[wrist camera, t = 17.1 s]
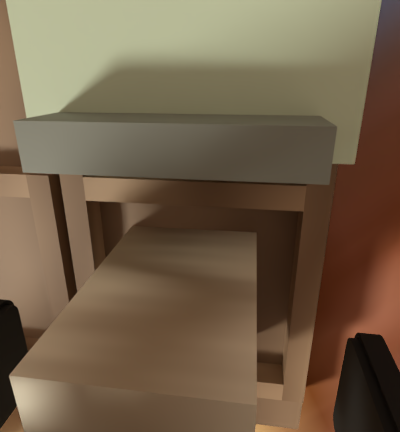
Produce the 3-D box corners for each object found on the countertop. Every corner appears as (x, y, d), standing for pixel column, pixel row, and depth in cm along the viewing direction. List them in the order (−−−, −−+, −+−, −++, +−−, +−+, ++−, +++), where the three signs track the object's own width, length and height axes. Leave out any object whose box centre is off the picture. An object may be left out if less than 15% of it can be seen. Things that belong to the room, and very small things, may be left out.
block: (140, 326, 15) (49, 524, 8) (132, 225, 13) (8, 375, 6) (250, 336, 14) (246, 559, 8) (256, 232, 12) (256, 405, 6)
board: (-38, 352, 20) (-85, 397, 17) (-181, -100, 12) (-308, -150, 10) (293, 391, 17) (300, 451, 14) (364, -144, 10) (405, -229, 7)
